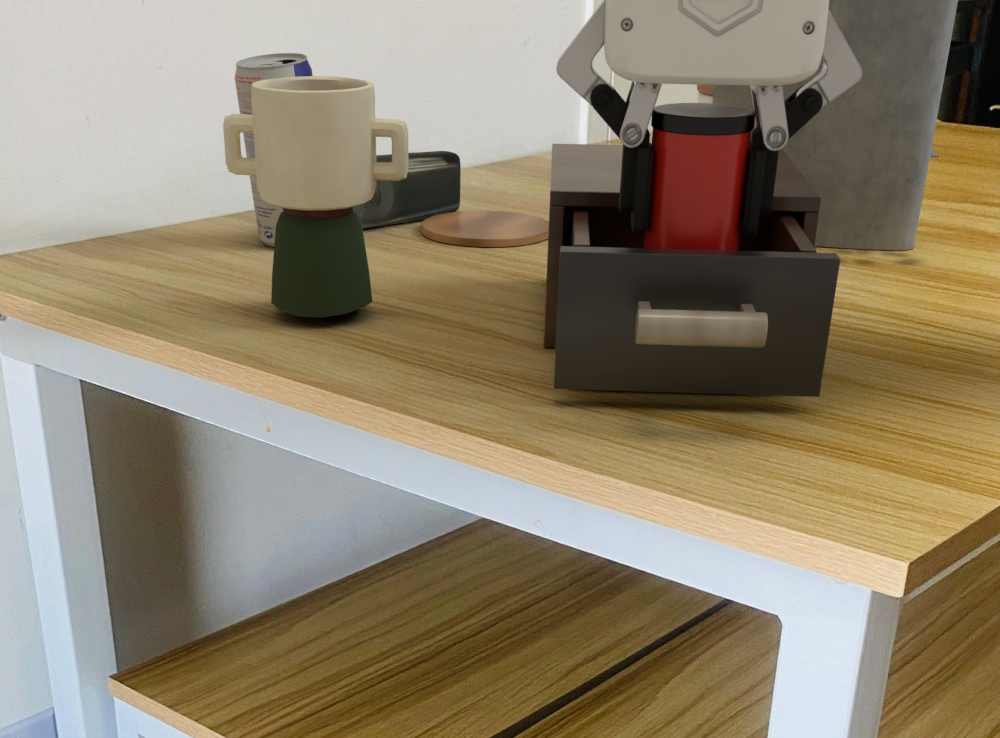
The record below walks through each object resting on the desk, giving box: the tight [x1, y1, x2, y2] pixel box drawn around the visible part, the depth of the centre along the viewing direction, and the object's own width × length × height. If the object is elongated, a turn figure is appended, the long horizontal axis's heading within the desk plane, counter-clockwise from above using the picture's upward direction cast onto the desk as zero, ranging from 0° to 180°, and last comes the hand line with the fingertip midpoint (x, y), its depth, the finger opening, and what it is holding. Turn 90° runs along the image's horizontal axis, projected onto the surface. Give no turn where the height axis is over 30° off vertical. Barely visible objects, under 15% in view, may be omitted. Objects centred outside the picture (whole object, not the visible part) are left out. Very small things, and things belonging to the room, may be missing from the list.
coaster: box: [420, 210, 549, 248], centre depth 104 cm, size 10×10×1 cm
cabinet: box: [543, 143, 821, 349], centre depth 83 cm, size 16×15×9 cm
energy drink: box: [234, 52, 314, 248], centre depth 97 cm, size 5×5×12 cm
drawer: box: [553, 206, 841, 398], centre depth 72 cm, size 19×13×7 cm
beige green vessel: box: [222, 75, 409, 319], centre depth 81 cm, size 11×7×13 cm, turn 82°
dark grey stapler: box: [353, 150, 462, 230], centre depth 105 cm, size 5×3×15 cm
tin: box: [644, 102, 755, 251], centre depth 70 cm, size 5×5×12 cm
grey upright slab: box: [713, 0, 959, 251], centre depth 98 cm, size 16×4×20 cm, turn 72°
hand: (692, 224), depth 70 cm, fingers closed on tin, 4 cm apart
